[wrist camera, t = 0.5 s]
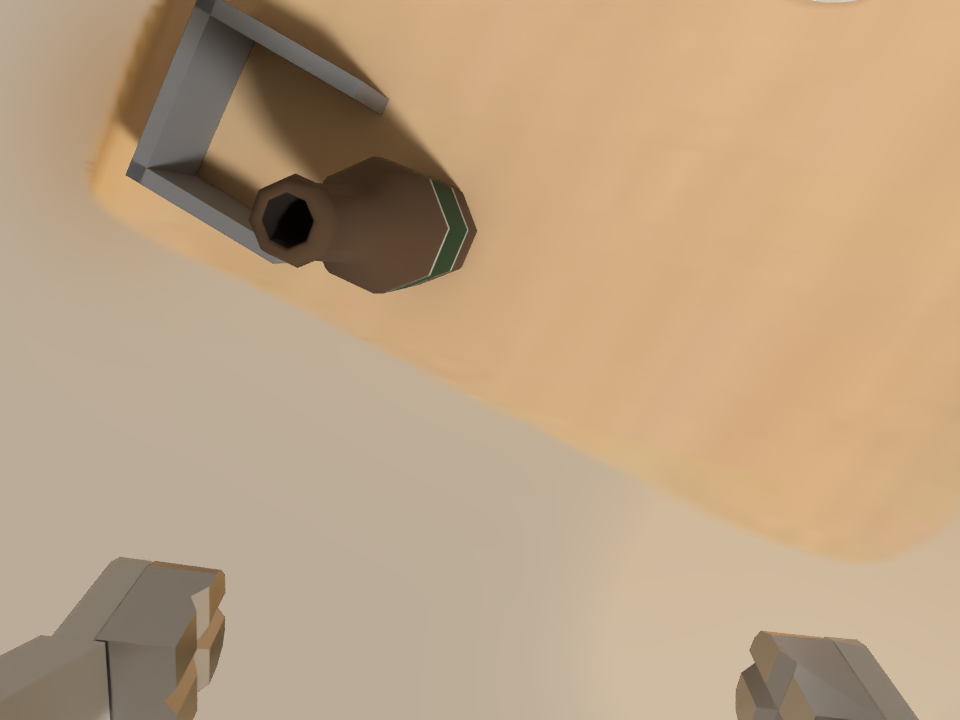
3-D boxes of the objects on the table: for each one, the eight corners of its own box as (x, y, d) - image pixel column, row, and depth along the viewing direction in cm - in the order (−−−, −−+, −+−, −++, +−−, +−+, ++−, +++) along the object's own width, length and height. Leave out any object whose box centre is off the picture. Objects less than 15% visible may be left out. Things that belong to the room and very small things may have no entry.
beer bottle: (377, 175, 51) (190, 118, 27) (480, 176, 49) (378, 118, 26) (377, 280, 52) (200, 313, 29) (478, 284, 51) (379, 321, 27)
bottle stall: (247, 17, 50) (201, -12, 44) (388, 99, 49) (361, 80, 44) (176, 182, 53) (125, 174, 47) (309, 261, 53) (273, 263, 47)
